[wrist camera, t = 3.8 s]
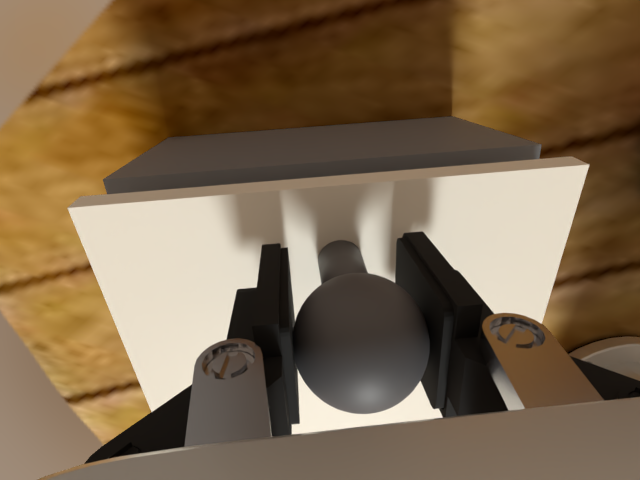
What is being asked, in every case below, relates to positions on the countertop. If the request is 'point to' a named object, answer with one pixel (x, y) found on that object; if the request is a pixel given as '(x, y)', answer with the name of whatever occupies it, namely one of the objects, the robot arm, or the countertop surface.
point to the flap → (326, 271)
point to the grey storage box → (317, 153)
